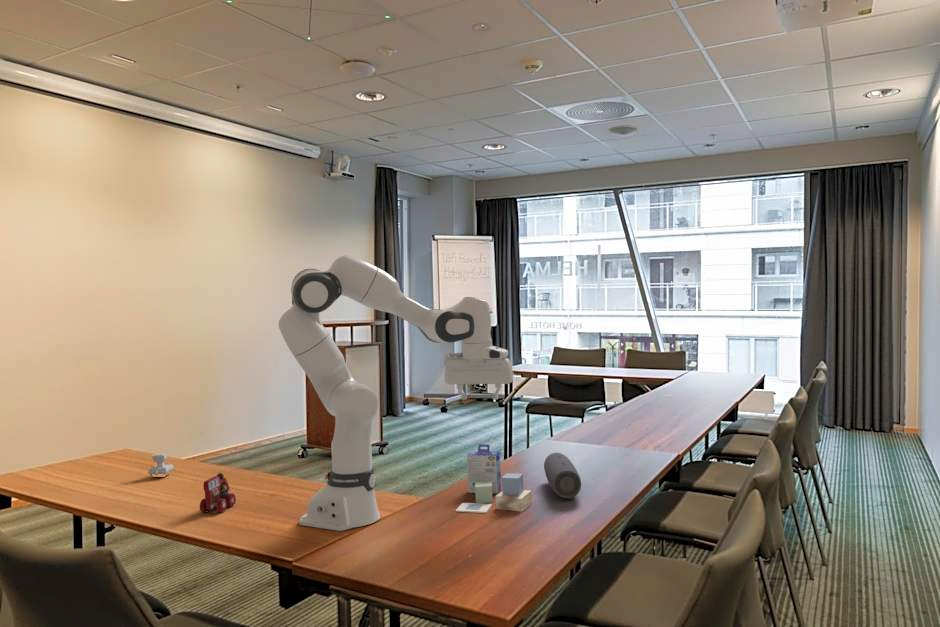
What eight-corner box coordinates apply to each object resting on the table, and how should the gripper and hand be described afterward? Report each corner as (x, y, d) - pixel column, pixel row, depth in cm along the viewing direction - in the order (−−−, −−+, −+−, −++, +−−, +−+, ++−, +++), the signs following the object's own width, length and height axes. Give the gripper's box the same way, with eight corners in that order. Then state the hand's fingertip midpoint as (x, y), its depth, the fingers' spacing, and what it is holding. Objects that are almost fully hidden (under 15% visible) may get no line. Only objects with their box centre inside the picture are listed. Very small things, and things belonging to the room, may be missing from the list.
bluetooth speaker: (584, 501, 189) (582, 467, 188) (552, 503, 189) (551, 469, 188) (571, 480, 211) (570, 450, 211) (543, 481, 211) (541, 451, 211)
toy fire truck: (239, 502, 203) (237, 469, 203) (218, 516, 191) (216, 481, 190) (218, 502, 204) (217, 470, 204) (196, 515, 192) (194, 481, 191)
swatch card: (455, 511, 185) (455, 509, 185) (462, 504, 191) (462, 502, 191) (486, 513, 182) (486, 511, 182) (492, 505, 189) (491, 503, 189)
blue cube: (502, 495, 186) (501, 477, 186) (507, 490, 191) (506, 473, 191) (519, 495, 185) (518, 478, 185) (523, 490, 190) (522, 473, 190)
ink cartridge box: (502, 489, 205) (500, 443, 205) (498, 494, 200) (496, 447, 199) (472, 488, 207) (470, 443, 207) (467, 493, 202) (465, 447, 202)
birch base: (496, 509, 186) (495, 496, 186) (506, 501, 193) (506, 488, 193) (522, 512, 182) (521, 498, 182) (532, 504, 190) (531, 490, 189)
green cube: (475, 503, 192) (475, 486, 192) (476, 498, 197) (475, 482, 197) (492, 502, 192) (491, 486, 192) (492, 497, 197) (491, 481, 197)
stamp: (165, 479, 236) (164, 456, 236) (146, 480, 235) (145, 457, 235) (175, 473, 245) (174, 450, 244) (157, 474, 244) (156, 451, 244)
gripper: (440, 354, 189) (442, 401, 189) (508, 352, 184) (510, 400, 184) (447, 352, 195) (449, 397, 195) (513, 350, 190) (515, 397, 190)
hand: (479, 399), depth 190 cm, fingers open, 8 cm apart
